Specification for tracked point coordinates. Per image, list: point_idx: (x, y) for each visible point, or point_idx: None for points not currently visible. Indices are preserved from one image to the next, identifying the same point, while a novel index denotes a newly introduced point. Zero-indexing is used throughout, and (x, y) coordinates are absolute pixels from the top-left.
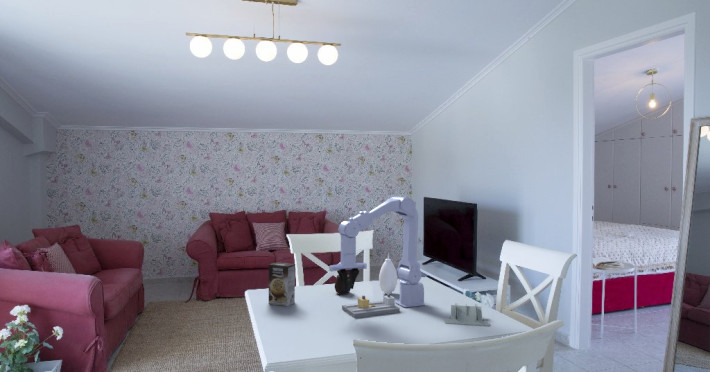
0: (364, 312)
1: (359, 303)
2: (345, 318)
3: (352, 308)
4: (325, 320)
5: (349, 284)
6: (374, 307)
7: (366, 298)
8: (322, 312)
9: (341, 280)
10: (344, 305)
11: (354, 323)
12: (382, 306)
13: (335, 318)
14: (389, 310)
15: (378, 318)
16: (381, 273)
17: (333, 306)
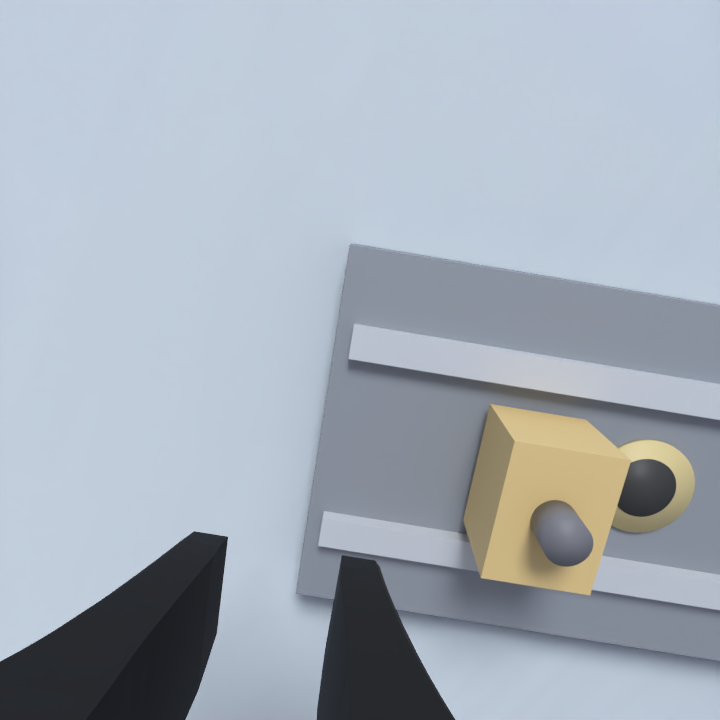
0: (416, 610)
1: (488, 466)
2: None
3: (389, 427)
4: (17, 489)
5: (340, 601)
6: (599, 572)
7: (600, 528)
8: (91, 235)
9: (62, 647)
10: (374, 269)
11: (223, 683)
12: (703, 586)
13: (132, 487)
14: (701, 650)
15: (490, 684)
16: None
17: (322, 72)
